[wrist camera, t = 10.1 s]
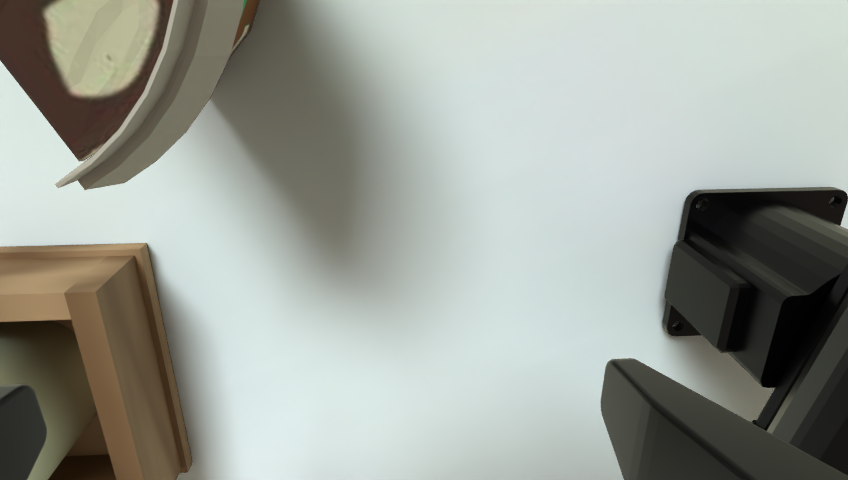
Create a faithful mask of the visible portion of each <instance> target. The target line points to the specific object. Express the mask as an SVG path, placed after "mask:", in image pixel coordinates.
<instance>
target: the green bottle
mask: <svg viewBox="0 0 848 480" xmlns="http://www.w3.org/2000/svg"><path fill="white" fill-rule="evenodd" d="M15 384H27V385H29V386H31V387H32V388H33V389H34V390H35V393H36V395H37V398H38V401H39V404H40V407H41V411H42V414H43V417H44V420H45V423H46V426H47V437H46V441H45V444H44V446H43V448H42V450H41V452H40V454H39V457H38V459H37V461H36V463H35V465H34V467H33V469H32V471H31V473H30V475H29V477H28V479H27V480H48V479H49V477H50V476H51V475H52V473H53V472H54V471H55V469H56V468H57V466H58V465H59V464H60V462H61V461H62V460H63V458H64V457H65V456H66V454H67V453H68V452H69V450H70V449H71V448H72V446H73V445H74V443H75V442H76V441H77V439H78V438H79V437H80V435H81V434H82V433H83V431H84V430H85V429H86V427H87V426H88V425H89V423H90V422H91V420H92V419H93V418H94V416H95V415H96V414H97V409H96V405H95V402H94V398H93V395H92V391H91V388H90V384H89V381H88V377H87V373H86V370H85V366H84V363H83V359H82V356H81V352H80V349H79V345H78V341H77V338H76V334H75V332H73V331H72V330H70V329H69V328H67V327H65V326H64V325H62V324H60V323H58V322H55V321H53V320H42V321H12V322H0V385H15Z"/></svg>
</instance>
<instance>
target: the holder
mask: <svg viewBox="0 0 848 480" xmlns="http://www.w3.org/2000/svg"><path fill="white" fill-rule="evenodd" d="M42 320H53V321H55V322H58V323H60V324H62V325H64V326H65V327H67V328H69V329H70V330H72V331H73V332H75V334H76V338H77V341H78V345H79V349H80V352H81V356H82V359H83V363H84V366H85V370H86V373H87V377H88V381H89V384H90V388H91V391H92V395H93V398H94V402H95V405H96V409H97V414H96V415H95V416H94V418H93V419H92V420H91V422H90V423H89V425H88V426H87V427H86V429H85V430H84V431H83V433H82V434H81V435H80V437H79V438H78V439H77V441H76V442H75V443H74V445H73V446H72V448H71V449H70V450H69V452H68V453H67V454H66V456H65V457H64V458H63V460H62V461H61V462H60V464H59V465H58V466H57V468H56V469H55V471H54V472H53V473H52V475H51V476H50V477H49V479H48V480H176V479H177V477H178V475H179V473H182V472H188V471H189V469H190V466H191V464H192V458H191V454H190V449H189V444H188V439H187V435H186V430H185V425H184V420H183V415H182V411H181V406H180V401H179V396H178V391H177V387H176V382H175V377H174V372H173V367H172V363H171V358H170V353H169V348H168V344H167V339H166V334H165V329H164V324H163V320H162V315H161V310H160V305H159V300H158V296H157V291H156V286H155V281H154V276H153V272H152V267H151V262H150V257H149V253H148V248H147V243H133V244H94V245H55V246H16V247H0V322H12V321H42Z"/></svg>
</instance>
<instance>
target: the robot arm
mask: <svg viewBox="0 0 848 480" xmlns="http://www.w3.org/2000/svg"><path fill="white" fill-rule="evenodd" d="M833 197H834V200H833V202H832V203H830V204H829V202H830V200H831V199H832V198H833ZM701 199H703V204H702V205H701V206H700V207H698V208H696V204H697V202H698V201H699V200H701ZM847 201H848V196H847V193H846V192H844V191H843V190H840V189H837V188H834V187H810V188H763V189H716V190H696V191H694V192H692V193H690V194H689V195H688V197H687V198H686V201H685V205H684V210H683V215H682V221H681V226H680V231H679V237H678V241H677V242H676V244H675V245H674V248H673V254H672V259H671V264H670V270H669V275H668V281H667V286H666V291H665V298H666V299H667V301H666V306H665V312H664V317H663V327H664V329H665V330H666V331H667V332H668V333H669V334H670V335H672V336H695V335H703V336H704V337H705V338H706V339H707V340H708V341H709V342H710V343H711V344H712V345H713V346H714V347H715V348H716V349H717V350H718V351H719V352H721V353H729V354H730V355H731V356H732V357H733V358H734V359H735V360H736V361H737V362H738V363H739V364H740V365H741V366H742V367H743V368H744V369H745V370H746V371H747V372H748V373H749V374H750V375H751V376H752V377H753V378H754V379H755V380H756V381H757V382H758V383H759V384H761V385H762V386H763V387H766V388H773V387H776V388H775V389H774V391H773V393H772V395H771V396H770V398H769V400H768V401H767V403H766V405H765V407H764V408H763V410H762V412H761V414H760V415H759V417H758V419H757V420H753V421H752V422H749V421H747V420H745V419H743V418H742V417H740V416H738V415H736V414H734V413H732V412H731V411H729V410H727V409H725V408H723V407H722V406H720V405H718V404H716V403H714V402H712V401H711V400H709V399H707V398H705V397H703V396H701V395H700V394H698V393H696V392H694V391H692V390H691V389H689V388H687V387H685V386H683V385H681V384H680V383H678V382H676V381H674V380H672V379H670V378H669V377H667V376H665V375H663V374H661V373H660V372H658V371H656V370H654V369H652V368H650V367H649V366H647V365H645V364H643V363H641V362H639V361H638V360H636V359H631V358H629V359H612V360H610V361H609V362H608V363H607V365H606V369H605V375H604V382H603V389H602V396H601V412H602V416H603V419H604V422H605V425H606V428H607V431H608V434H609V437H610V440H611V443H612V446H613V448H614V451H615V454H616V457H617V460H618V463H619V466H620V469H621V472H622V475H623V478H624V480H848V229H846V228H843V227H841V226H840V225H841V221H842V218H843V215H844V211H845V208H846V205H847ZM677 321H679V323H678V324H677V325H676V326H673V324H674V323H675V322H677ZM672 326H673V327H672ZM46 437H47V426H46V423H45V420H44V417H43V414H42V411H41V407H40V404H39V401H38V398H37V395H36V393H35V390H34V389H33V388H32V387H31V386H29V385H27V384H15V385H0V480H27V479H28V477H29V475H30V473H31V471H32V469H33V467H34V465H35V463H36V461H37V459H38V457H39V454H40V452H41V450H42V448H43V446H44V444H45V441H46Z"/></svg>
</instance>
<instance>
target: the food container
mask: <svg viewBox="0 0 848 480" xmlns="http://www.w3.org/2000/svg"><path fill="white" fill-rule="evenodd" d="M259 2H260V0H0V61H1V62H2V63H3V64H4V66H5V67H6V68H7V69H8V71H9V72H10V73H11V74H12V76H13V77H14V78H15V80H16V81H17V82H18V83H19V85H20V86H21V87H22V88H23V90H24V91H25V92H26V94H27V95H28V96H29V97H30V99H31V100H32V101H33V102H34V104H35V105H36V106H37V108H38V109H39V110H40V111H41V113H42V114H43V115H44V117H45V118H46V119H47V120H48V122H49V123H50V124H51V126H52V127H53V128H54V129H55V131H56V132H57V133H58V135H59V136H60V137H61V139H62V140H63V141H64V142H65V144H66V145H67V146H68V148H69V149H70V150H71V151H72V153H73V154H74V155H75V157H76V158H77V159H78V160H79V161H84V160H86V159H87V158H89V157H90V156H91V157H90V158H89V159H87V160H86V161H85V162H84V163H82V164H81V165H80V166H78V167H77V168H76V169H74V170H73V171H72V172H71V173H69V174H68V175H67V176H65V177H64V178H63V179H61V180H60V181H59V182H58V183H56V184H55V185H56V186H57V187H58V188H60V187H62V186H65V185H67V184H70V183H72V182H74V181H77V180H78V181H79V183H80V184H81V186H82V187H83V188H84V189H85V190H87V189H93V188H98V187H104V186H110V185H116V184H121V183H125V182H127V181H128V180H130V179H131V178H133V177H134V176H135V175H137V174H138V173H140V172H141V171H143V170H144V169H146V168H147V167H149V166H150V165H151V164H153V163H154V162H156V161H157V160H158V159H159V158H160V157H161V156H162V155H163V154H164V153H165V152H166V151H167V150H168V149H169V148H170V147H171V146H172V145H173V144H174V143H175V142H176V141H177V140H178V139H180V138H181V137H182V136H183V135H184V134H185V133H186V132H187V130H188V129H189V127H190V126H191V124H192V123H193V122H194V120H195V119H196V117H197V116H198V114H199V113H200V112H201V110H202V109H203V107H204V106H205V105H206V103H207V102H208V100H209V99H210V97H211V96H212V93H213V91H214V89H215V87H216V85H217V83H218V81H219V78H220V76H221V74H222V72H223V70H224V68H225V66H226V64H227V61H228V60H229V58H230V57H231V56H232V54H233V53H234V52H235V50H236V49H237V48H238V46H239V45H240V44H241V42H242V41H243V40H244V38H245V37H246V36H247V34H248V33H249V32H250V30H251V27H252V24H253V21H254V18H255V15H256V12H257V8H258V5H259ZM92 155H93V156H92Z"/></svg>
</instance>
